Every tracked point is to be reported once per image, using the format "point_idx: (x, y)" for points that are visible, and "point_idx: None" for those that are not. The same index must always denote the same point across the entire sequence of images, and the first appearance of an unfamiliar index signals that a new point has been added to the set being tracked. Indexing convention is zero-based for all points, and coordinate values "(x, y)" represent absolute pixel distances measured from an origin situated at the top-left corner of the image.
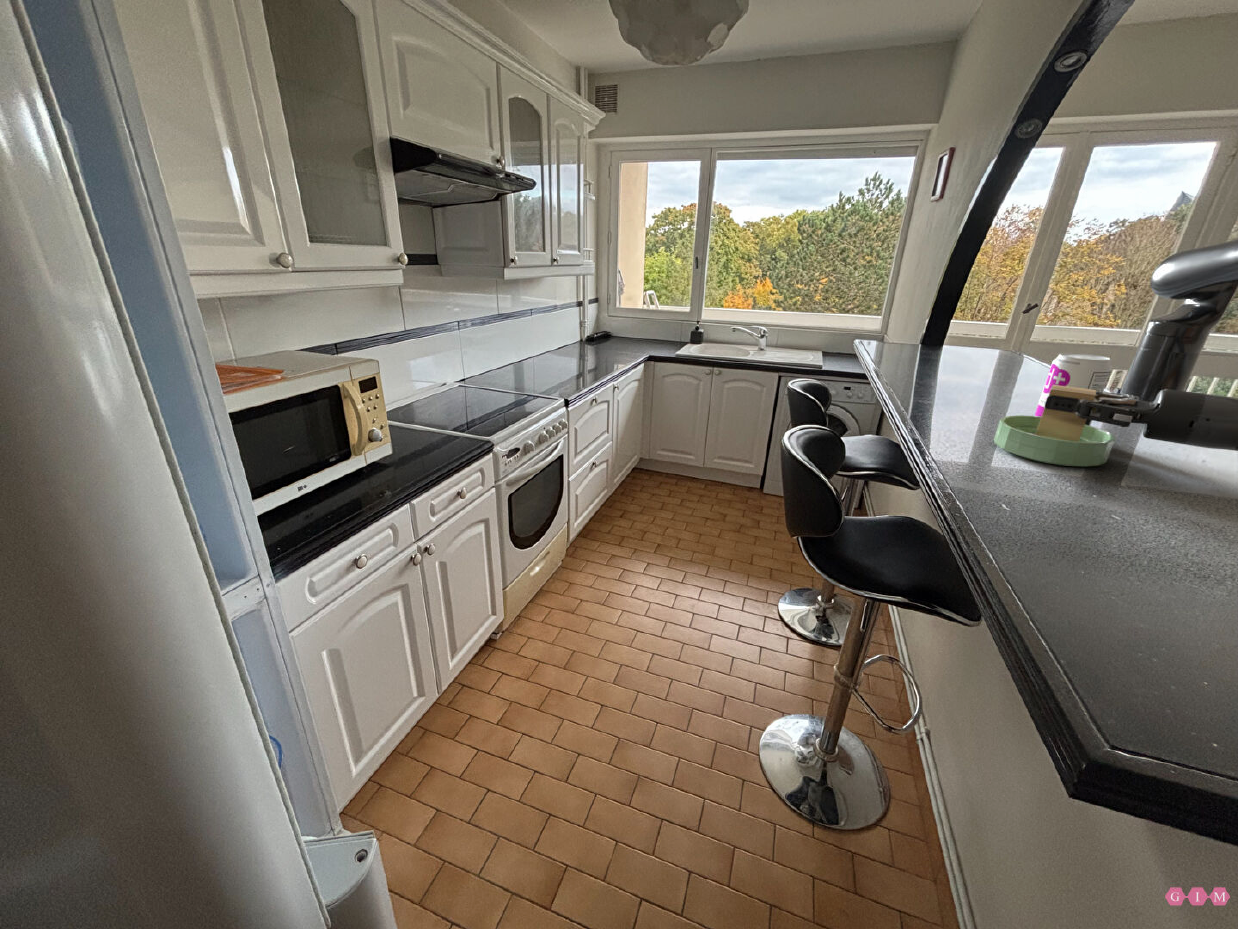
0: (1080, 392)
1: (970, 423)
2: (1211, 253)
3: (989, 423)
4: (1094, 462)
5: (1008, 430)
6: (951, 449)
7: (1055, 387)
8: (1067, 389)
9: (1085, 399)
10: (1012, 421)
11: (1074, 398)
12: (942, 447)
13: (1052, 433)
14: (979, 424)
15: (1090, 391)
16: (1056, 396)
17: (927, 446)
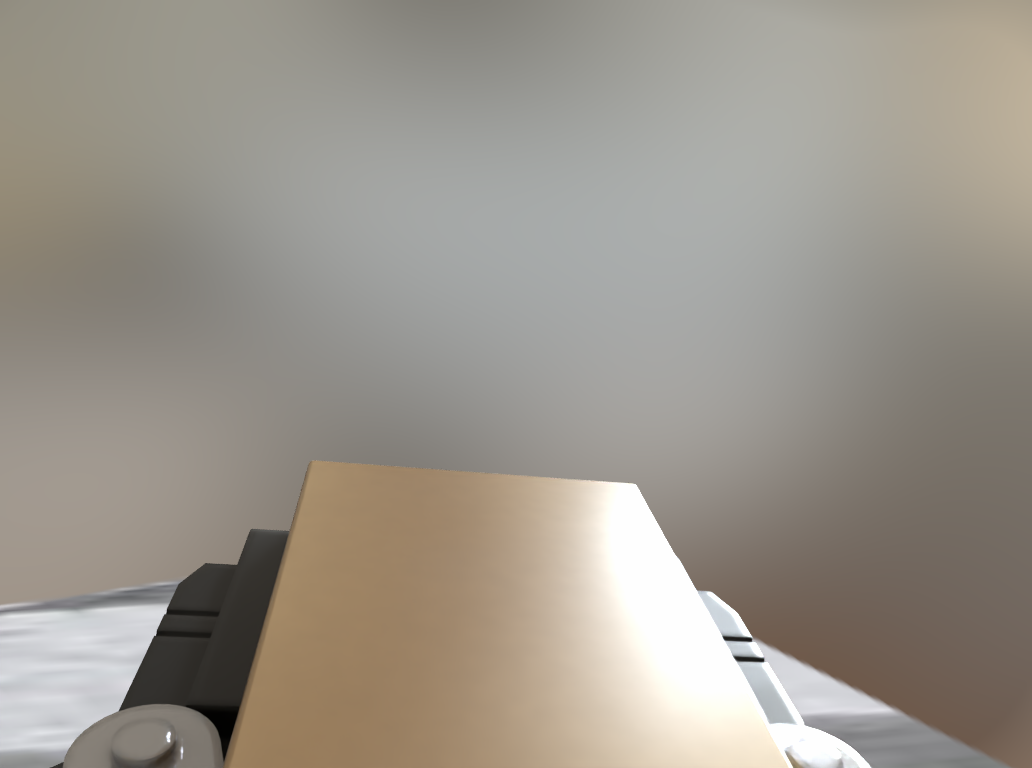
0: (307, 627)
1: (809, 685)
2: None
3: (942, 753)
4: None
5: None
6: (121, 675)
7: (464, 484)
8: (441, 544)
9: (116, 757)
10: None
11: (227, 676)
12: (138, 644)
13: None
14: (846, 718)
15: (550, 722)
16: (241, 558)
17: (114, 601)
